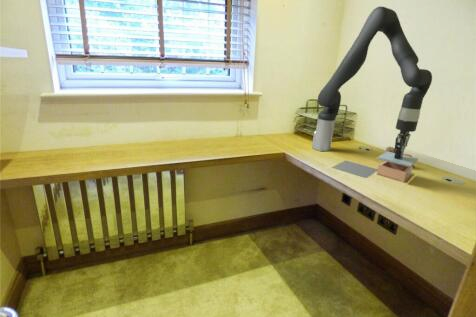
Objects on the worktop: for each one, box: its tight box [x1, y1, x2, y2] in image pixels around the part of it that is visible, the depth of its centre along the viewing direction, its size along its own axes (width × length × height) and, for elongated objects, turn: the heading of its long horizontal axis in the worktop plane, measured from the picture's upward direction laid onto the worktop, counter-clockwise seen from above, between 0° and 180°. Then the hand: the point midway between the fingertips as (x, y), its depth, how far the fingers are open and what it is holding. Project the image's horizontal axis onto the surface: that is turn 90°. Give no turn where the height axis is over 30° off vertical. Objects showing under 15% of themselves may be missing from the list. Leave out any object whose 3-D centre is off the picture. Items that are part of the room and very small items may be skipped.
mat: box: [331, 160, 378, 179], centre depth 133 cm, size 16×16×1 cm
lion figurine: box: [384, 146, 416, 169], centre depth 141 cm, size 15×5×9 cm, turn 66°
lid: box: [377, 146, 419, 167], centre depth 125 cm, size 13×13×6 cm
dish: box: [376, 160, 414, 183], centre depth 127 cm, size 11×11×5 cm
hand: (398, 157), depth 125 cm, fingers closed on lid, 3 cm apart
